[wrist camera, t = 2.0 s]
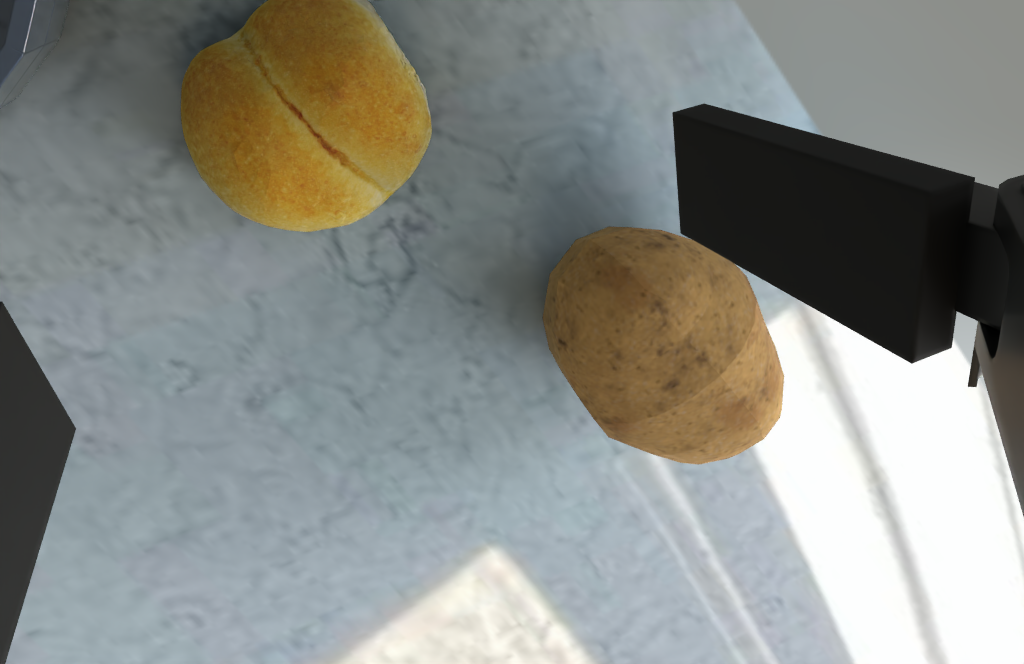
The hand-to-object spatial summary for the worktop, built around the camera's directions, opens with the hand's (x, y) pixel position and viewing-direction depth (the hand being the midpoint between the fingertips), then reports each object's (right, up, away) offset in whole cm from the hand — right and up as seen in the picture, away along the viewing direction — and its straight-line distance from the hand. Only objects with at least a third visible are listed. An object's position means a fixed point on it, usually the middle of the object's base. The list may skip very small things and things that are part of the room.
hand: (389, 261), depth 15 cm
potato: (+8, 0, +24) cm, 25 cm away
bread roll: (-6, +7, +15) cm, 17 cm away
